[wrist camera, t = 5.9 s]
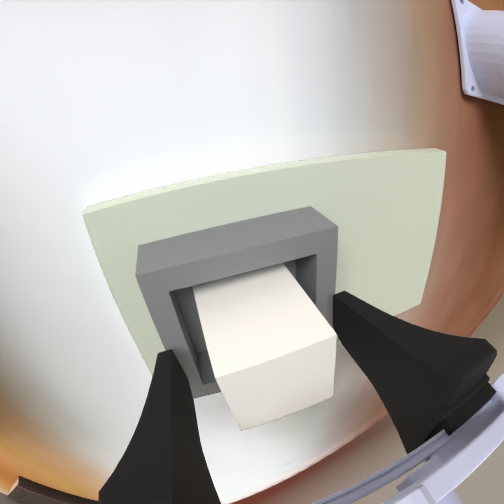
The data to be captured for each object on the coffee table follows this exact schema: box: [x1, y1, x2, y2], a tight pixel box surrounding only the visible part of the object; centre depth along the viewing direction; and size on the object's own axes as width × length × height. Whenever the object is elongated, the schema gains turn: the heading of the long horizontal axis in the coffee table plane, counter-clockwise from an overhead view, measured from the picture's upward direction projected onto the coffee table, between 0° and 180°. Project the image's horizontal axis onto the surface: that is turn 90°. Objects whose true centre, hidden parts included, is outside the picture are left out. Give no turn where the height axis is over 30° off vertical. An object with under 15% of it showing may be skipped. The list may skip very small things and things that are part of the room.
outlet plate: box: [83, 148, 446, 398], centre depth 15 cm, size 20×12×4 cm, turn 97°
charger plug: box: [192, 263, 337, 431], centre depth 12 cm, size 4×4×6 cm
